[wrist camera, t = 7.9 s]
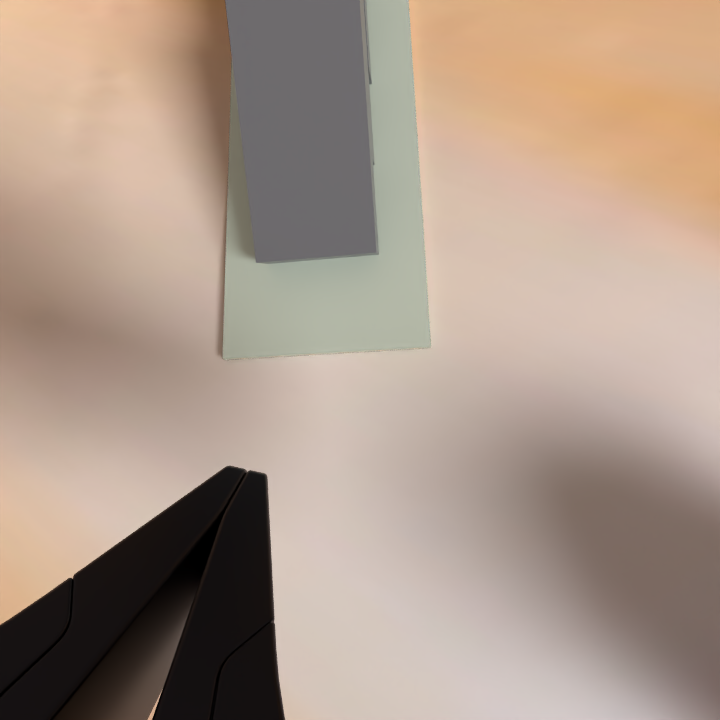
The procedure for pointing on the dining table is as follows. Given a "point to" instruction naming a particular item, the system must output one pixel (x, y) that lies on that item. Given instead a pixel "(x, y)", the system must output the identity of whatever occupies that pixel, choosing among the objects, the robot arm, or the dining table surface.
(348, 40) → the domino
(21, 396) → the dining table surface
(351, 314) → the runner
